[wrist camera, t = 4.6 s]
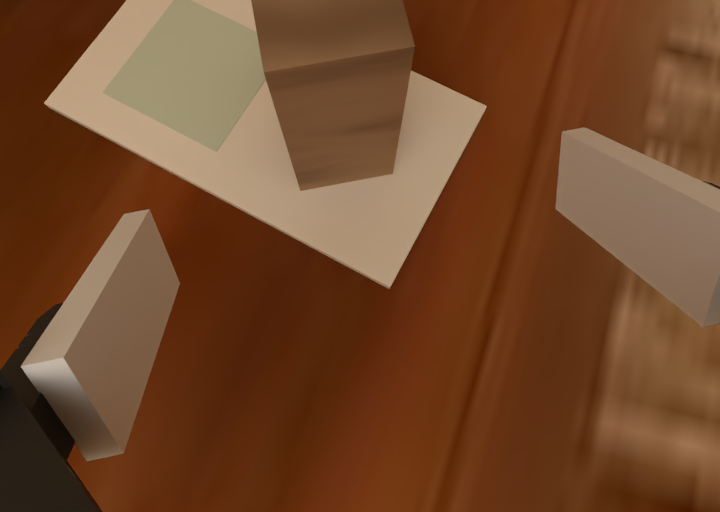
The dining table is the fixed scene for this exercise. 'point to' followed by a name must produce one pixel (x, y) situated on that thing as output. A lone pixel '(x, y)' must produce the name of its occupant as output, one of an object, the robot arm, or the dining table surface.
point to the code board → (256, 129)
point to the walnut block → (336, 83)
